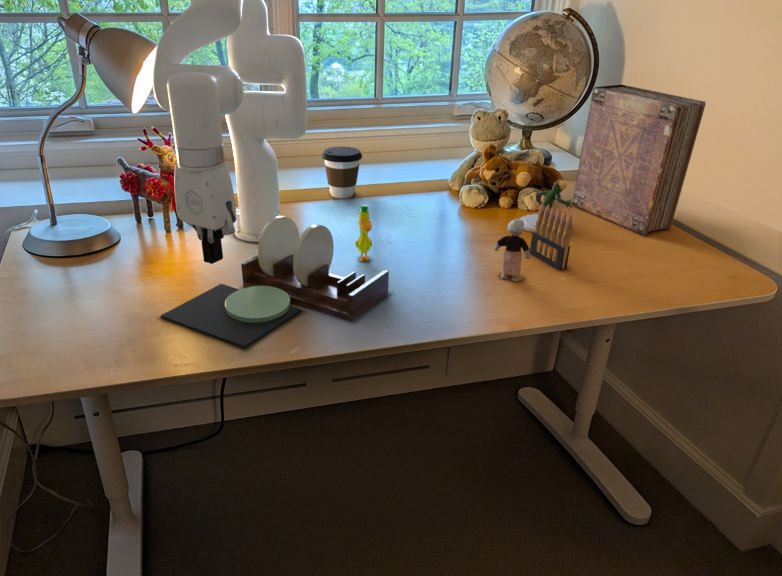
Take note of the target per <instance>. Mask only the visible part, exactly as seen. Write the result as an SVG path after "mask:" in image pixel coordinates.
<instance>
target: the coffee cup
mask: <svg viewBox="0 0 782 576" xmlns="http://www.w3.org/2000/svg"><path fill="white" fill-rule="evenodd" d="M321 158H322V159H323V160H324V168H325V169H324V170H325V174H326V180H327V185H328V188H329V187H330V189H329V193H330V195H331V197H333V198H336V199H348V198H352V197H353V196H354V194H355V192H356V191H355V190H356V185H357V182H358V176H359V170H360V160H362V159H363V154H362V152H361V150H360V149H359V148H356V147H351V146H332V147H328V148H325V149H324V150H323V151H322V154H321Z"/></svg>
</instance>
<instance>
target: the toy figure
mask: <svg viewBox="0 0 782 576" xmlns="http://www.w3.org/2000/svg"><path fill="white" fill-rule="evenodd" d="M368 208H369V205H368V204H361V205H360V209H359V214H358V225H359V226H358V227H359V232H360V236H359V237H358V239H357V240H355V241H354V245H355V248H356V249H357V250H358V251H359V253H360V257H359V260H360V262H362V263H363V262H365V261H366V262H370V256H368V252H369V251H370V249H371V247H372V246H373V241H372V239H371V238H370V237H369V235H368V233H370V231H371V230H372V227H373V223H372V221H371V220H370V209H368ZM363 254H364V255H363Z"/></svg>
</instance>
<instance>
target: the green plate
mask: <svg viewBox="0 0 782 576" xmlns="http://www.w3.org/2000/svg"><path fill="white" fill-rule="evenodd" d="M290 306H291V302H290V297H289V295H288V294H287V293H286V292H285V291H283V290H281V289H279V288H276V287H271V286H252V287H247V288H244V287H242V288H240V289H239V290H238V291H236V292H234V293H232V294H231V295H230V296H229V297H228V298H227V299H226V301H225V309H226V312H227V314H228V315H229V316H230V317H232V318H234V319H236V320H238V321H242V322H249V323H259V322H266V321H270V320H274V319H276V318H279V317H281V316H282V315H284V314H285V313H286V312H287V311H288V310H289V308H290Z"/></svg>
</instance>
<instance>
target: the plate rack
mask: <svg viewBox="0 0 782 576" xmlns="http://www.w3.org/2000/svg"><path fill="white" fill-rule="evenodd" d="M293 257H294V255H290V256H288V257H286V258H285V259H283V260H281V261H279V262H277V263H275V264H274V276H275V277H273V276H269V275H267V274H265V273H264V272H263V270H262V269H261V267H260V265H259V261H258V254H257V255H254V256H253V257H251V258H249V259H247V260H245V261H243V262H241V263H240V266H241V267H240V269H241V278H242V286H243V287H242V288H247V287H252V286H271V287H276V288H279V289H281V290H283V291H285V292H286V293H287V294H288V295H289V297H290V303H292V304H296V305H298V306H301V307H305V308H308V309H311V310H313V311H318V312H319V313H320V312H321V313H324V314H327V315H329V316H334V317H337V318H340V319H343V320H346V321H349V322H352V323H353V322H354V321H356V320H357V319H358V318H359V317H361V316H362V315H364V314H365V313H366V312H368V311H369V310H370V309H371V308H373V307H375V306H376V304H378V303H379V302H380V301H382V300H383V299H385V298H386V297H387V296H388V295H389V280H390V279H389V278H390V277H389V276H390V271H389V270H387V269H383V270H382V271H381V272H379V273H378V274H376V275H374V277H372V278H370V279H369V280H367V281H366V274H365V273H362V274H360V275H359V276H357V271H352V272H350V273H349V274H347V275H346V276H342V275H341V276H340V275H338V274H334V273H332V272H330V268H329V264H326V265H324V266H322V267H320V268H319V269H317V270H315V271H314V272H312V273H310V274H309V287H306V286H303V285H301V284H300V283H299V282H298V281H297V279H296V277H295V275H294V270H293Z"/></svg>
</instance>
